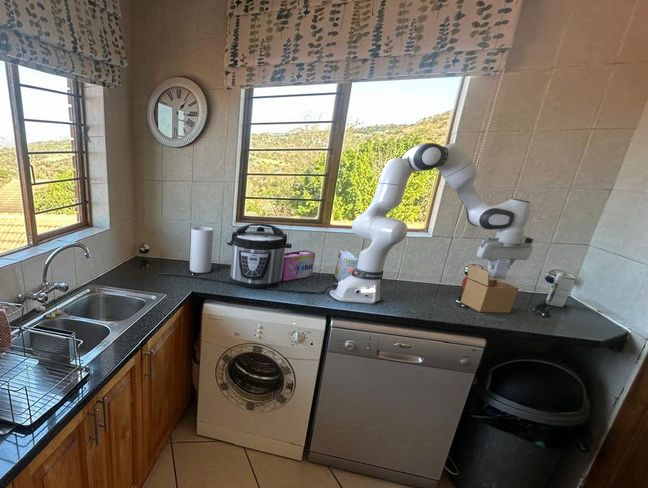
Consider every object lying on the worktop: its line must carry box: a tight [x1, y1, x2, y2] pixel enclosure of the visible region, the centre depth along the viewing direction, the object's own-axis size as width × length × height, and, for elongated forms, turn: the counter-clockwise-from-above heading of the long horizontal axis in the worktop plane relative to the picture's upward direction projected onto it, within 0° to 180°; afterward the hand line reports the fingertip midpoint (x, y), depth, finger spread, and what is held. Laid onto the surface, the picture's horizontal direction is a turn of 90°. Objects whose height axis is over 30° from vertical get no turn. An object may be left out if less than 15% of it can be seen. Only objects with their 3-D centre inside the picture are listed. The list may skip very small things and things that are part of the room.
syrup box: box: [545, 272, 577, 308], centre depth 186 cm, size 6×6×14 cm
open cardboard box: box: [460, 278, 520, 314], centre depth 183 cm, size 13×13×12 cm
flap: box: [466, 264, 490, 286], centre depth 179 cm, size 6×13×1 cm
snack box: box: [333, 250, 359, 282], centre depth 217 cm, size 21×6×15 cm, turn 168°
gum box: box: [281, 250, 316, 282], centre depth 226 cm, size 24×8×14 cm, turn 118°
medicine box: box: [486, 259, 511, 280], centre depth 178 cm, size 8×4×9 cm, turn 160°
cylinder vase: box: [189, 226, 214, 274], centre depth 235 cm, size 12×12×25 cm
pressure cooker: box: [226, 222, 293, 289], centre depth 212 cm, size 30×28×32 cm
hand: (498, 268), depth 178 cm, fingers closed on medicine box, 5 cm apart
